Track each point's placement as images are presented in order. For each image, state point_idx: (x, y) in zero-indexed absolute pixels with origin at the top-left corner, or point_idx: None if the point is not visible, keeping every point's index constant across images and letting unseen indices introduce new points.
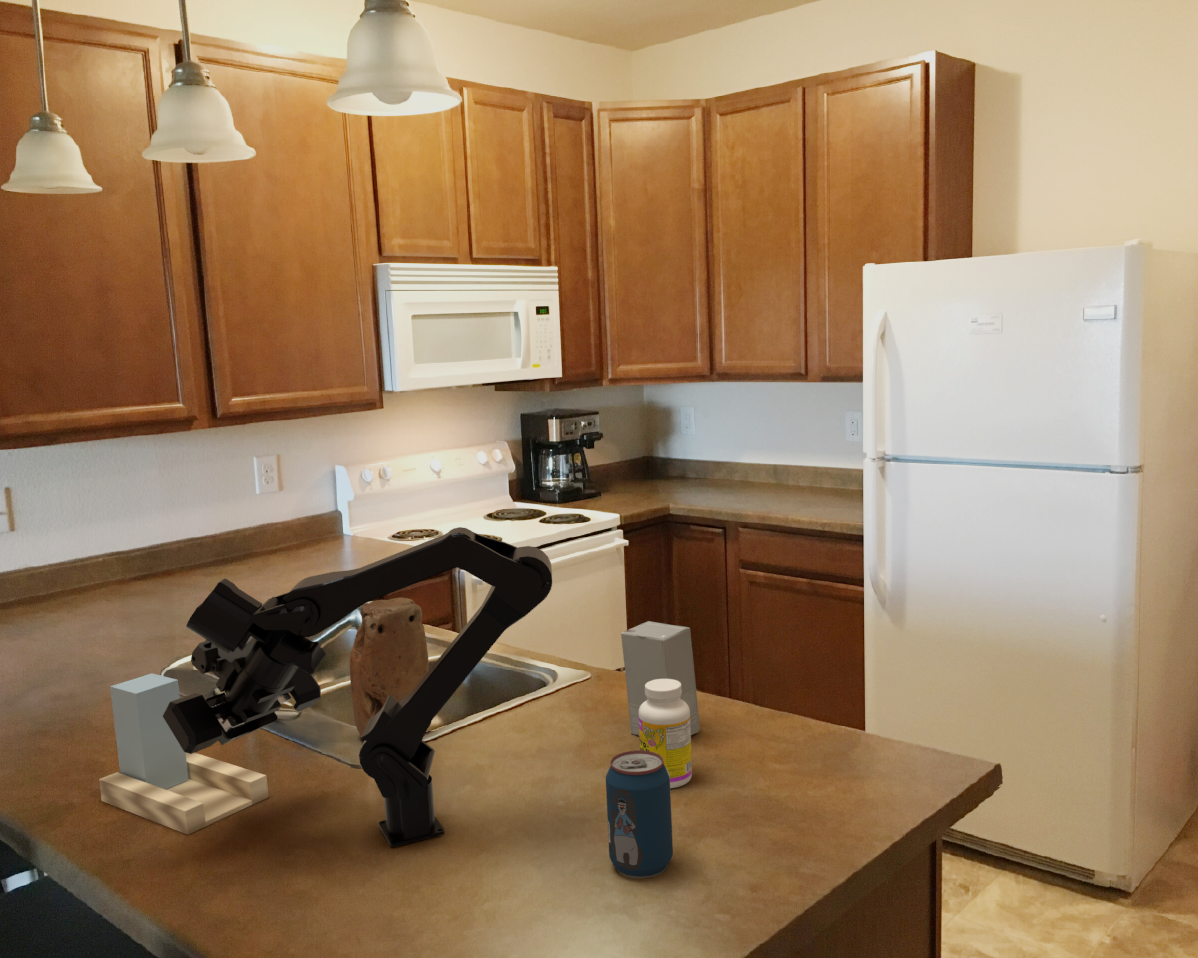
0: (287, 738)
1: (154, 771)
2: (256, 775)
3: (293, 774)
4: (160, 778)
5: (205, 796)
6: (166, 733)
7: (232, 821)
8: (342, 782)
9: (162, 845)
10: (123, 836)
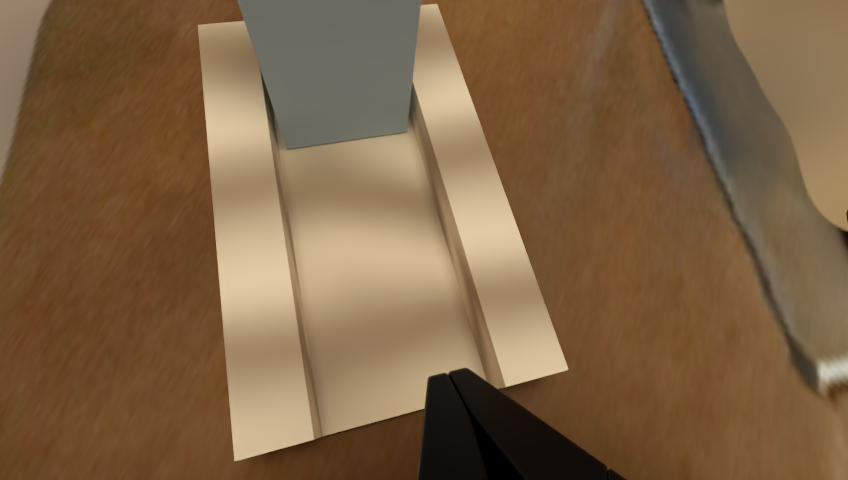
0: (676, 77)
1: (305, 104)
2: (541, 343)
3: (639, 280)
4: (326, 120)
5: (398, 257)
6: (352, 9)
7: (397, 465)
8: (749, 450)
9: (169, 469)
10: (135, 308)
